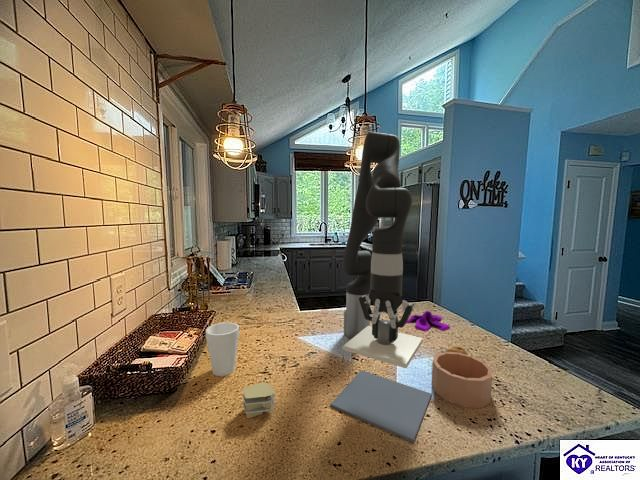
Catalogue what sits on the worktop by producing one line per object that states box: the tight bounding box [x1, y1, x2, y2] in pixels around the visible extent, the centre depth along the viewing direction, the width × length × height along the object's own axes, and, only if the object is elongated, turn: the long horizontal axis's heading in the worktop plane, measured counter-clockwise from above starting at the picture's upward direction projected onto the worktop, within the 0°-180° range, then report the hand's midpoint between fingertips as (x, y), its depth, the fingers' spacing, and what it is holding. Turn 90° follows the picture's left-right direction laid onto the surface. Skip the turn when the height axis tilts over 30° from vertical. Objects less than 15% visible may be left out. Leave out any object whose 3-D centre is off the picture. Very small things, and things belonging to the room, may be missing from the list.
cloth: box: [406, 310, 451, 332], centre depth 122 cm, size 22×19×6 cm
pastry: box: [445, 346, 469, 355], centre depth 90 cm, size 9×7×4 cm
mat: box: [329, 369, 432, 443], centre depth 71 cm, size 20×18×1 cm
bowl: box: [431, 351, 493, 409], centre depth 75 cm, size 14×14×7 cm
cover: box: [343, 319, 424, 369], centre depth 69 cm, size 15×15×6 cm
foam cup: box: [205, 322, 240, 377], centre depth 83 cm, size 10×9×13 cm
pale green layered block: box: [241, 381, 276, 419], centre depth 66 cm, size 10×9×6 cm
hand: (384, 339), depth 69 cm, fingers closed on cover, 3 cm apart
